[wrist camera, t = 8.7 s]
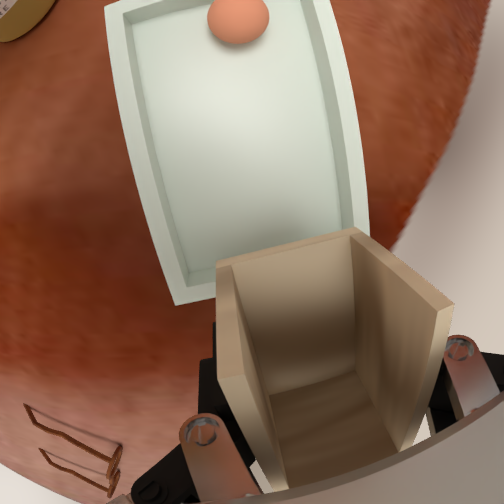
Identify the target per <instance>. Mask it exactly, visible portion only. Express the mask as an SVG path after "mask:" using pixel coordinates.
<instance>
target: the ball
mask: <svg viewBox="0 0 504 504" xmlns="http://www.w3.org/2000/svg"><path fill="white" fill-rule="evenodd" d="M207 22H208V26H209V28H210V30H211V31H212V33H213V34H214V35H215V36H216V37H218V38H219V39H221V40H223V41H225V42H228V43H233V44H242V43H247V42H251V41H253V40H255V39H257V38H258V37H259V36H261V35H262V34H263V33H264V31H265V30H266V28H267V26H268V23H269V11H268V8H267V6H266V4H265V3H264V2H263V0H215V1H214V2H213V3H212V4H211V6H210V8H209V10H208V14H207Z"/></svg>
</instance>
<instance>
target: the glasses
mask: <svg viewBox="0 0 504 504" xmlns="http://www.w3.org/2000/svg"><path fill="white" fill-rule="evenodd" d="M23 404H24V403H23ZM24 407H25V409H26V411H27V413H28V415H29V417H30V419H31V421H32V423H33V425H35V426H36V427H38V428H40V429H41V430H43V431H45V432H47V433H50V434H53V435H56V436H60V437H62V438H64V439H65V440H67V441H69V442H70V443H72V444H74V445H76V446H77V447H79V448H81V449H83V450H85V451H86V452H88V453H90V454H92V455H94V456H96V457H98V458H100V459H102V460H104V461H106V462H108V463H110V464H109V466H108V470H107V474H106V478H107V479H108V480H109V484H110V486H109V489H108V488H106V487H104V486H102V485H100V484H98V483H96V482H94V481H92V480H90V479H88V478H86V477H84V476H82V475H80V474H78V473H77V472H75V471H73V470H70V469H67V468H64V467H61V466H59V465H57V464H55V463H53V462H52V461H51V460H50V458H49V457H48V455H47V454H46V453H45V451H44V450H43V449H40V448H39V450H40V452H41V453H42V455H43V456H44V457H45V459H46V460H47V461H48V463H49V464H50V465H52V466H54V467H55V468H57V469H59V470H62V471H64V472H68V473H71V474H73V475H74V476H76V477H78V478H80V479H82V480H84V481H85V482H87V483H89V484H91V485H93V486H95V487H97V488H99V489H101V490H103V491H105V492H108V494H107V497H108V498H111V497H112V495H113V493H114V491H115V488H116V486H117V483H118V480H119V477H120V472H119V471H117V472H116V473H115V471H116V468H117V466H118V464H119V461H120V458H121V455H122V449H123V448H122V447H120V446H118V447H117V449H116V451H115V452H114V454H113V457H112V458H110V457H108V456H105V455H103V454H101V453H100V452H98V451H96V450H94V449H92V448H90V447H88V446H86V445H84V444H83V443H81V442H79V441H77V440H76V439H74V438H72V437H70V436H69V435H67V434H65V433H64V432H61V431H57V430H54V429H50V428H48V427H46V426H44V425H42V424H40V423H38V422H37V421H36V419H35V417H34V415H33V413H32V411H31V409H30V407H29V406H28V405H26V404H24ZM117 455H118V456H117ZM116 457H117V459H116ZM115 460H116V462H115ZM114 462H115V464H114ZM113 464H114V467H113ZM112 467H113V469H112ZM111 470H112V471H111ZM114 473H115V475H114ZM113 485H114V486H113Z"/></svg>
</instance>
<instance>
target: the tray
mask: <svg viewBox="0 0 504 504" xmlns="http://www.w3.org/2000/svg"><path fill="white" fill-rule="evenodd" d="M214 1H215V0H120V1H118V2H115V3H112V4H110V5H107V6H105V7H104V11H105V21H106V30H107V39H108V47H109V54H110V61H111V67H112V74H113V80H114V85H115V91H116V97H117V102H118V107H119V112H120V117H121V122H122V126H123V131H124V136H125V140H126V144H127V149H128V153H129V157H130V161H131V165H132V169H133V173H134V177H135V181H136V184H137V188H138V192H139V195H140V199H141V203H142V206H143V210H144V213H145V216H146V220H147V223H148V226H149V230H150V233H151V236H152V239H153V242H154V246H155V249H156V252H157V255H158V258H159V261H160V264H161V267H162V270H163V273H164V276H165V278H166V281H167V284H168V287H169V290H170V292H171V295H172V298H173V301H174V303H175V306H176V305H181V304H186V303H191V302H195V301H200V300H205V299H210V298H214V297H216V261H218V260H222V259H226V258H230V257H234V256H238V255H242V254H246V253H250V252H254V251H258V250H263V249H267V248H271V247H275V246H279V245H283V244H287V243H291V242H295V241H299V240H303V239H307V238H311V237H315V236H319V235H323V234H327V233H331V232H336V231H340V230H344V229H348V228H352V227H357V228H358V229H360V230H361V231H362V232H364V233H365V234H366V235H368V236H369V237H370V229H369V213H368V200H367V188H366V178H365V169H364V160H363V152H362V145H361V138H360V131H359V124H358V118H357V112H356V107H355V101H354V96H353V91H352V86H351V81H350V76H349V72H348V67H347V63H346V59H345V54H344V50H343V46H342V42H341V39H340V35H339V31H338V28H337V24H336V21H335V17H334V14H333V10H332V7H331V4H330V1H329V0H263V2H264V3H265V4H266V6H267V8H268V11H269V23H268V26H267V28H266V30H265V31H264V33H263V34H262V35H261V36H259V37H258V38H257V39H255V40H253V41H251V42H247V43H242V44H233V43H228V42H225V41H223V40H221V39H219V38H218V37H216V36H215V35H214V34H213V33H212V31H211V30H210V28H209V26H208V22H207V14H208V10H209V8H210V6H211V4H212V3H213V2H214Z"/></svg>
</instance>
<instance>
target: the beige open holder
mask: <svg viewBox="0 0 504 504" xmlns="http://www.w3.org/2000/svg"><path fill="white" fill-rule="evenodd" d="M453 309H454V303H453V302H452V301H450V300H449V299H448V298H447V297H446V296H445V295H443V294H442V293H441V292H440V291H439V290H437V289H436V288H435V287H434V286H433V285H431V284H430V283H429V282H428V281H427V280H425V279H424V278H423V277H422V276H420V275H419V274H418V273H417V272H415V271H414V270H413V269H411V268H410V267H409V266H408V265H406V264H405V263H404V262H403V261H401V260H400V259H399V258H397V257H396V256H395V255H393V254H392V253H391V252H389V251H388V250H387V249H386V248H384V247H383V246H381V245H380V244H379V243H377V242H376V241H375V240H373V239H372V238H371V237H369V236H368V235H366V234H365V233H364V232H362V231H361V230H360V229H358V228H357V227H352V228H348V229H344V230H340V231H336V232H331V233H327V234H323V235H319V236H315V237H311V238H307V239H303V240H299V241H295V242H291V243H287V244H283V245H279V246H275V247H271V248H267V249H263V250H258V251H254V252H250V253H246V254H242V255H238V256H234V257H230V258H226V259H222V260H218V261H216V345H217V380H218V382H219V384H220V386H221V389H222V391H223V393H224V395H225V397H226V399H227V402H228V404H229V406H230V408H231V410H232V412H233V414H234V416H235V418H236V420H237V422H238V424H239V427H240V429H241V431H242V433H243V435H244V437H245V438H246V440H247V442H248V444H249V446H250V448H251V450H252V452H253V454H254V456H255V458H256V460H257V462H258V463H259V465H260V467H261V469H262V471H263V473H264V474H265V476H266V478H267V480H268V482H269V483H270V485H271V487H272V488H273V490H274V492H277V491H282V490H287V489H291V488H295V487H300V486H304V485H308V484H311V483H315V482H319V481H322V480H326V479H329V478H332V477H335V476H339V475H342V474H345V473H348V472H351V471H354V470H356V469H359V468H362V467H365V466H367V465H370V464H372V463H375V462H377V461H380V460H382V459H385V458H387V457H389V456H392V455H394V454H396V453H399V452H401V451H403V450H405V449H407V448H409V447H411V446H412V444H413V442H414V440H415V437H416V435H417V433H418V430H419V428H420V425H421V423H422V420H423V417H424V415H425V412H426V410H427V407H428V404H429V401H430V398H431V395H432V392H433V389H434V386H435V383H436V380H437V376H438V373H439V370H440V366H441V362H442V359H443V355H444V351H445V347H446V343H447V339H448V334H449V330H450V325H451V319H452V314H453Z"/></svg>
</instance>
